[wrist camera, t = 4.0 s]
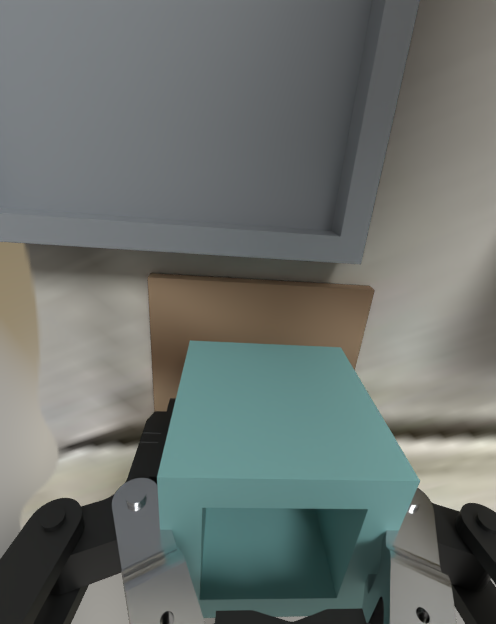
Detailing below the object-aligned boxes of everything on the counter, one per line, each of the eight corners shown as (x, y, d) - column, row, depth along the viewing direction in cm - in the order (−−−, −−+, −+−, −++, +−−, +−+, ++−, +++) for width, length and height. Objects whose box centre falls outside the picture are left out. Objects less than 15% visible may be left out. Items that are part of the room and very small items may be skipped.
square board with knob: (150, 273, 14) (106, 330, 9) (369, 285, 15) (438, 344, 10) (158, 442, 18) (131, 545, 13) (330, 445, 19) (366, 544, 14)
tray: (-183, -460, 7) (-324, -675, 5) (459, -327, 8) (524, -468, 6) (-13, 228, 13) (-52, 238, 11) (344, 252, 14) (360, 264, 12)
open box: (189, 340, 12) (156, 477, 7) (340, 347, 13) (420, 481, 7) (189, 475, 16) (166, 643, 10) (311, 477, 16) (351, 639, 11)
